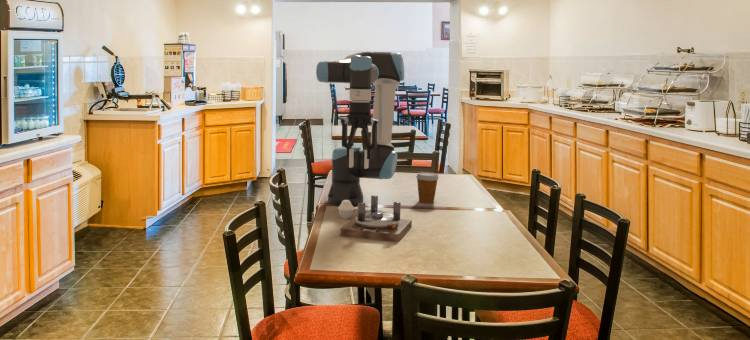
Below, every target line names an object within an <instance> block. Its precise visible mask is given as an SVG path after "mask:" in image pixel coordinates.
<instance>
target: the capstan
mask: <svg viewBox="0 0 750 340" xmlns="http://www.w3.org/2000/svg"><path fill="white" fill-rule="evenodd" d="M378 201H379V195H371V196H370V212H366V202H364V201H363V202H359V203H358V204H357V215H355V217H356V221H355V223H356V225H358V226H360V227H364V228H370V229H377V228H379V229H388V228H395V227H397V226H398V225H399V220H400V219H401V208H402V207H401V206H402V205H401V204H402V202H399V201H394V202H393V207H392V208H393V212H392V213H386V212H382V211H378V209H379V208H378V206H379V202H378Z"/></svg>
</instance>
